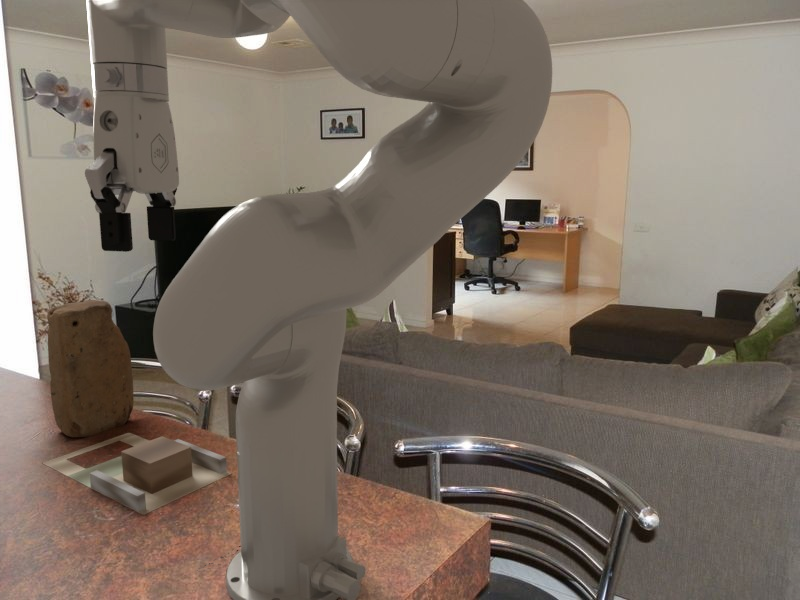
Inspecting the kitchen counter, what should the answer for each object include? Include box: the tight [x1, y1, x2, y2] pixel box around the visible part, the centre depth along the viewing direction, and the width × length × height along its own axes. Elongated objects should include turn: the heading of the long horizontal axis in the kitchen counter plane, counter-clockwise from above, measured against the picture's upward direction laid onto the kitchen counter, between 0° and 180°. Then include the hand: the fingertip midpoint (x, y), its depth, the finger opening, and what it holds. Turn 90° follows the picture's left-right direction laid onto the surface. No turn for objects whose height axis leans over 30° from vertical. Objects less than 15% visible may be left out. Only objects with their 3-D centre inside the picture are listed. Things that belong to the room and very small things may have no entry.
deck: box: [41, 432, 232, 516], centre depth 88 cm, size 23×13×3 cm, turn 55°
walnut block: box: [120, 435, 193, 494], centre depth 85 cm, size 6×6×4 cm
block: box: [46, 299, 135, 438], centre depth 102 cm, size 11×8×20 cm
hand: (141, 245), depth 75 cm, fingers open, 9 cm apart
